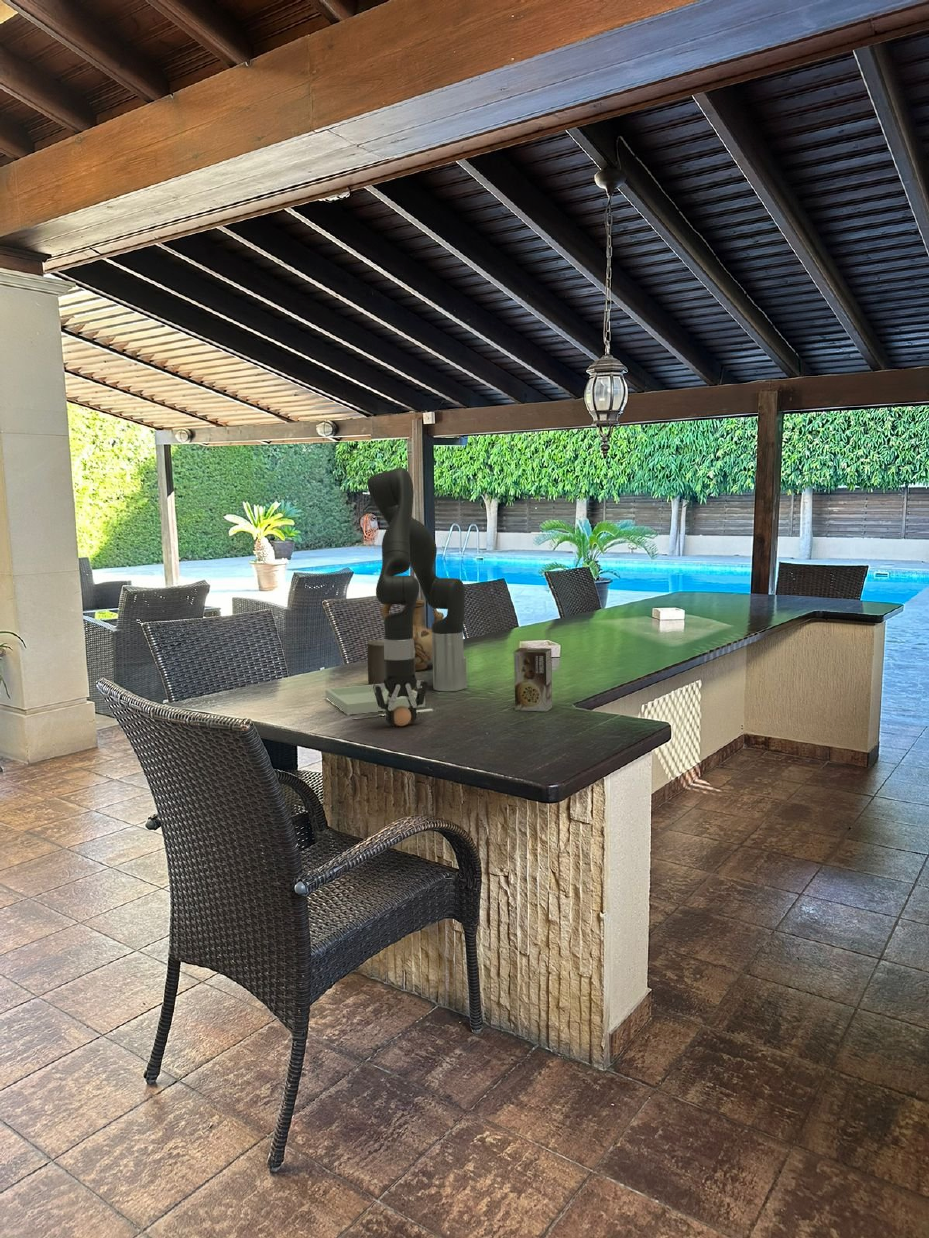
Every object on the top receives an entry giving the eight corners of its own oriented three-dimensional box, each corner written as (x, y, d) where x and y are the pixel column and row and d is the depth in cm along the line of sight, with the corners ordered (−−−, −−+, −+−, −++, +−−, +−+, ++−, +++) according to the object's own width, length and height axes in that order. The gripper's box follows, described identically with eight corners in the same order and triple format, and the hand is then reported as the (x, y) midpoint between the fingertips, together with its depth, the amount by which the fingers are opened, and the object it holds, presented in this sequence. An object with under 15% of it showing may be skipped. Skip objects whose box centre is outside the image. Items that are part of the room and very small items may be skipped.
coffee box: (553, 706, 238) (552, 648, 236) (547, 712, 232) (546, 651, 230) (520, 705, 241) (519, 646, 239) (513, 710, 235) (513, 650, 233)
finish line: (430, 709, 237) (430, 708, 237) (433, 710, 235) (433, 709, 235) (352, 718, 228) (352, 717, 228) (353, 720, 227) (353, 719, 227)
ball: (407, 722, 223) (406, 703, 223) (414, 726, 219) (413, 707, 218) (388, 724, 221) (388, 705, 221) (395, 729, 217) (394, 709, 216)
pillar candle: (362, 688, 267) (361, 639, 265) (377, 682, 276) (376, 634, 274) (390, 690, 263) (390, 641, 261) (405, 684, 272) (404, 636, 270)
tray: (398, 691, 261) (397, 681, 260) (425, 706, 241) (424, 695, 240) (325, 699, 252) (325, 689, 252) (347, 715, 232) (347, 704, 232)
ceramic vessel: (412, 676, 285) (410, 599, 282) (373, 669, 298) (371, 595, 295) (451, 668, 298) (450, 594, 295) (412, 662, 311) (411, 591, 308)
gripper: (421, 651, 224) (422, 716, 226) (367, 656, 218) (369, 723, 221) (432, 655, 217) (433, 723, 219) (376, 660, 212) (378, 729, 214)
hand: (401, 722), depth 220 cm, fingers closed on ball, 5 cm apart
